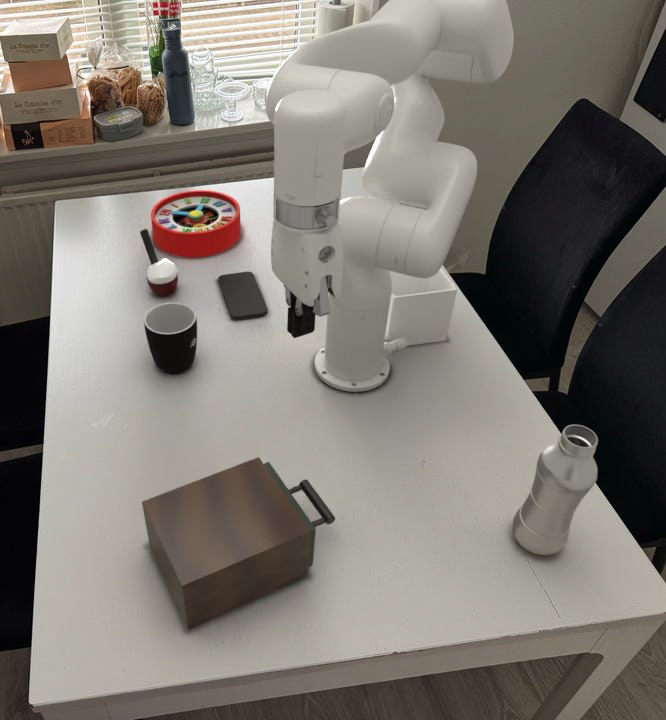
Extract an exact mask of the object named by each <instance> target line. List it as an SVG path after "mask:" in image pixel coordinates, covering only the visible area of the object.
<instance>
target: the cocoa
mask: <svg viewBox="0 0 666 720" xmlns="http://www.w3.org/2000/svg"><path fill="white" fill-rule="evenodd" d="M139 233H140V236H141V239H142V243H143V245H144V248H145V251H146V252H147V256H148V260H149V261H150V265H149V267H148V269H147V271H146V281H147V285H148V287H149V289H150V291H151V292H152V293H153V294H154V295H156V296H159V297H166V296H169V295H173V294H175V293H176V292H177V287H178V281H179V275H178V273H179V271H178V267H177V266H176V265H175V264H174V262H173V261H170V259H168V258H162V259H161V260H159V259H158V255H157V253H156V250H155V248H154V247H155V246H154V243H153V241H152V239H151V236H150V232H149V230H148V228H144V229H142V230H140V232H139Z"/></svg>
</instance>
